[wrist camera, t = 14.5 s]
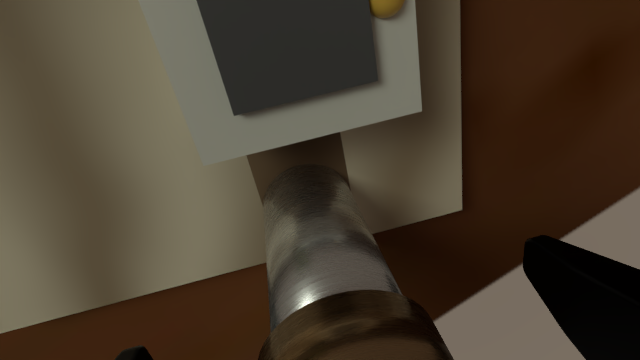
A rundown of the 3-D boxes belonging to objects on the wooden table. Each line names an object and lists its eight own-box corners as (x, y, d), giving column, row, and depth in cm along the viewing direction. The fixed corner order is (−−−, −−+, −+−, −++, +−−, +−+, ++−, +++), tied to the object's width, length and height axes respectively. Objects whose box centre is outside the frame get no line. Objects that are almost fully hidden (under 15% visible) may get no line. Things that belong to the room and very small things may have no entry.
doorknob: (269, 257, 13) (289, 525, 7) (240, 171, 12) (226, 416, 5) (365, 232, 14) (477, 467, 7) (350, 143, 12) (480, 343, 5)
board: (-3, 308, 14) (-29, 341, 13) (-327, -57, 8) (-434, -65, 7) (443, 190, 15) (462, 209, 14) (428, -209, 9) (457, -241, 8)
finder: (214, 124, 11) (201, 174, 8) (138, -88, 8) (80, -127, 5) (382, 83, 11) (429, 116, 8) (358, -134, 8) (412, -195, 6)
